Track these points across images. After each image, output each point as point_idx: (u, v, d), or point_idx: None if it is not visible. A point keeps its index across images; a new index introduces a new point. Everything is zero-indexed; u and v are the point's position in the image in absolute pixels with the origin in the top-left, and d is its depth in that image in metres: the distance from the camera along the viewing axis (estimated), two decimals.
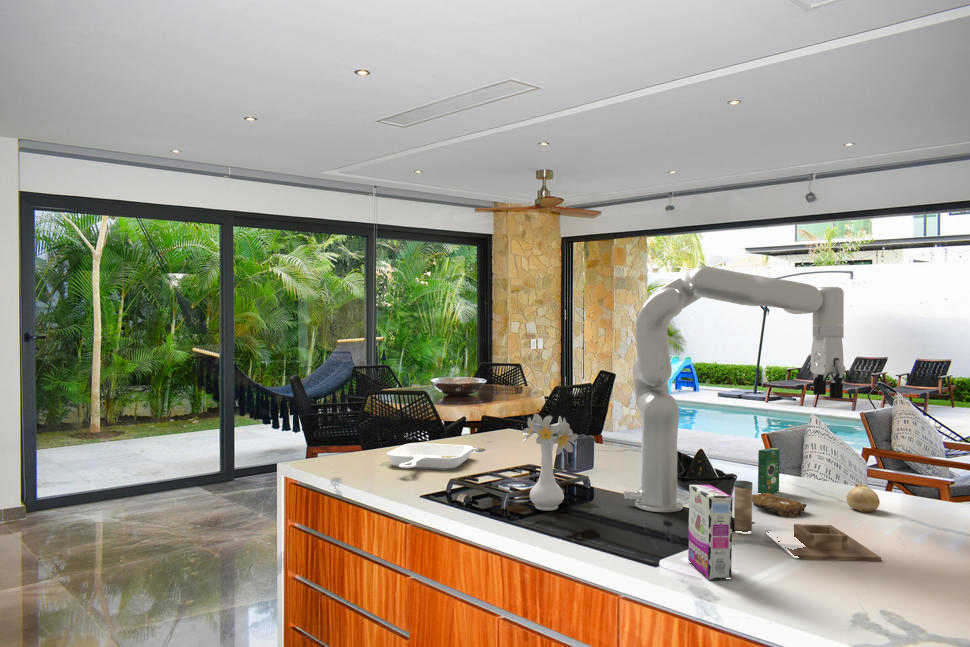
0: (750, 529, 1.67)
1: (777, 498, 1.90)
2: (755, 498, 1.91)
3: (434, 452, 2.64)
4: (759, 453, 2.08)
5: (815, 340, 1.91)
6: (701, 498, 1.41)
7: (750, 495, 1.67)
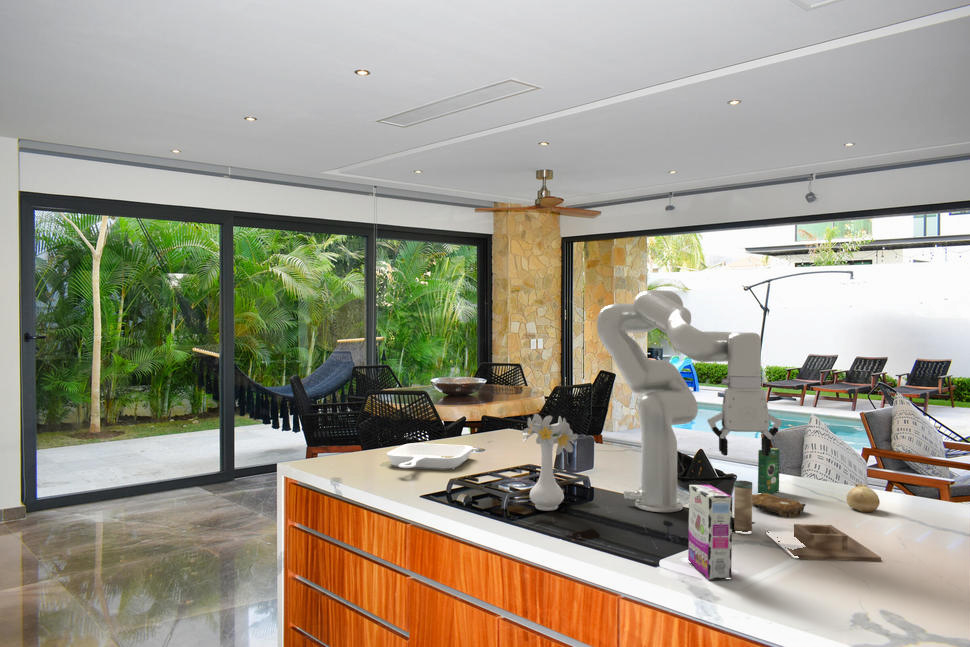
0: (750, 529, 1.67)
1: (776, 498, 1.90)
2: (754, 498, 1.91)
3: (433, 452, 2.64)
4: (759, 453, 2.08)
5: (741, 393, 1.66)
6: (700, 498, 1.41)
7: (750, 495, 1.67)
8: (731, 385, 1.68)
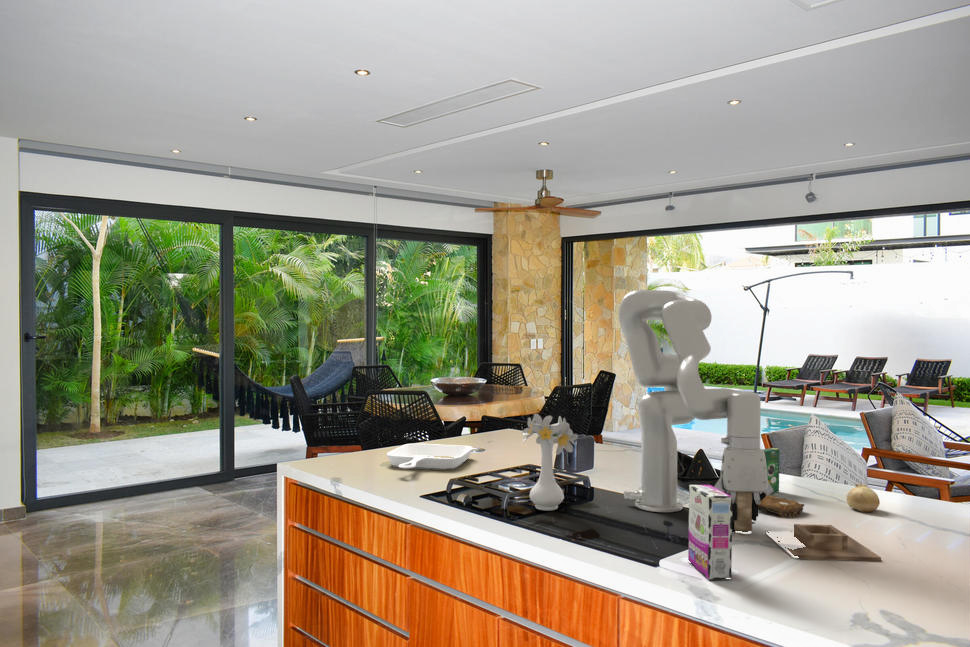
0: (750, 529, 1.67)
1: (775, 498, 1.90)
2: None
3: (433, 452, 2.64)
4: None
5: (740, 453, 1.67)
6: (700, 498, 1.41)
7: (750, 495, 1.67)
8: (730, 445, 1.68)
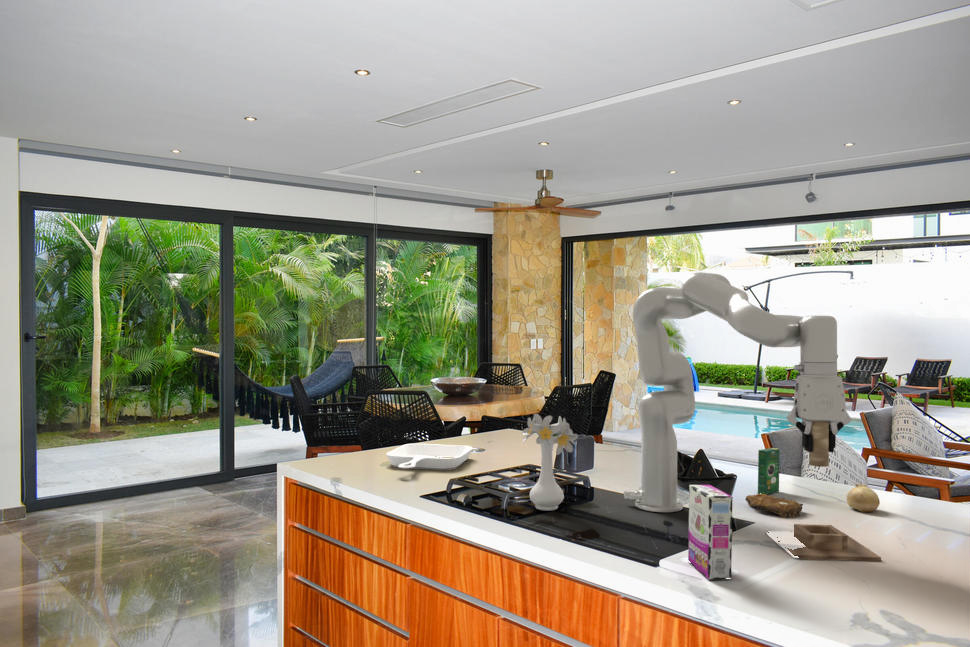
0: (827, 461, 1.57)
1: (774, 498, 1.89)
2: (752, 499, 1.90)
3: (433, 452, 2.64)
4: (759, 453, 2.08)
5: (816, 380, 1.56)
6: (700, 498, 1.41)
7: (827, 425, 1.57)
8: (805, 372, 1.57)
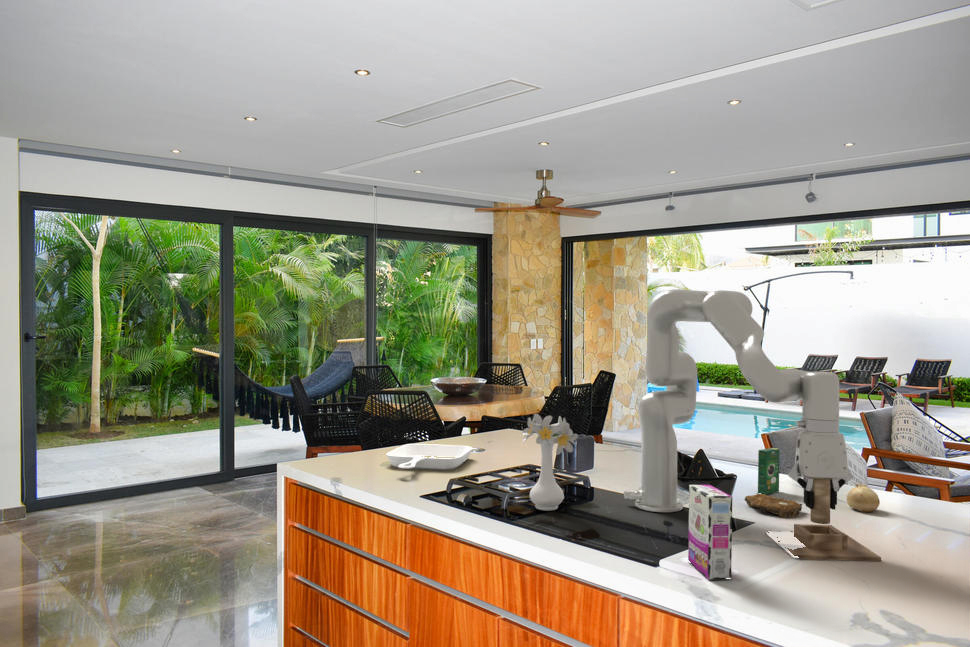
0: (829, 518, 1.56)
1: (773, 499, 1.89)
2: (752, 499, 1.90)
3: (433, 453, 2.64)
4: (759, 453, 2.08)
5: (818, 437, 1.56)
6: (700, 498, 1.41)
7: (829, 482, 1.56)
8: (807, 428, 1.57)
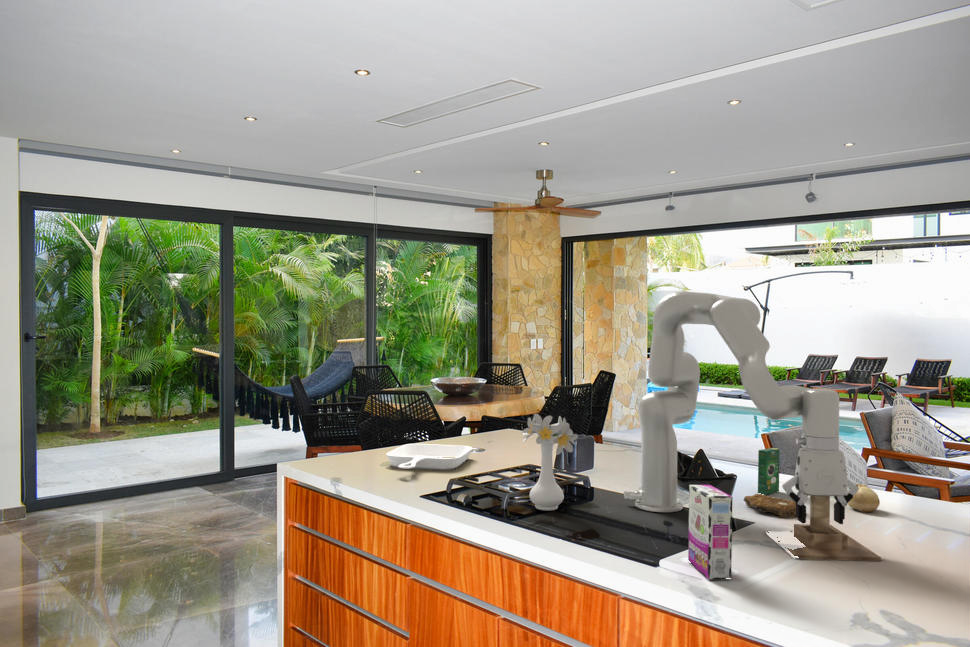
0: None
1: (773, 499, 1.89)
2: (751, 500, 1.90)
3: (433, 452, 2.64)
4: (759, 453, 2.08)
5: (818, 455, 1.56)
6: (700, 498, 1.41)
7: (828, 504, 1.57)
8: (807, 446, 1.57)
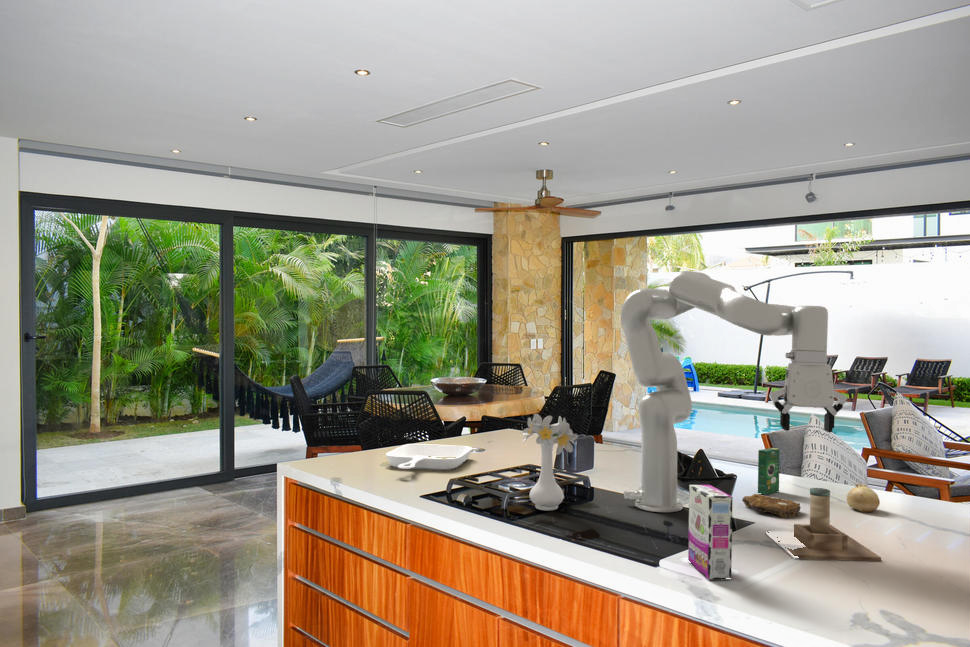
0: None
1: (772, 499, 1.89)
2: (751, 500, 1.89)
3: (433, 453, 2.63)
4: (759, 453, 2.08)
5: (806, 367, 1.63)
6: (700, 498, 1.41)
7: (828, 504, 1.57)
8: (796, 359, 1.64)
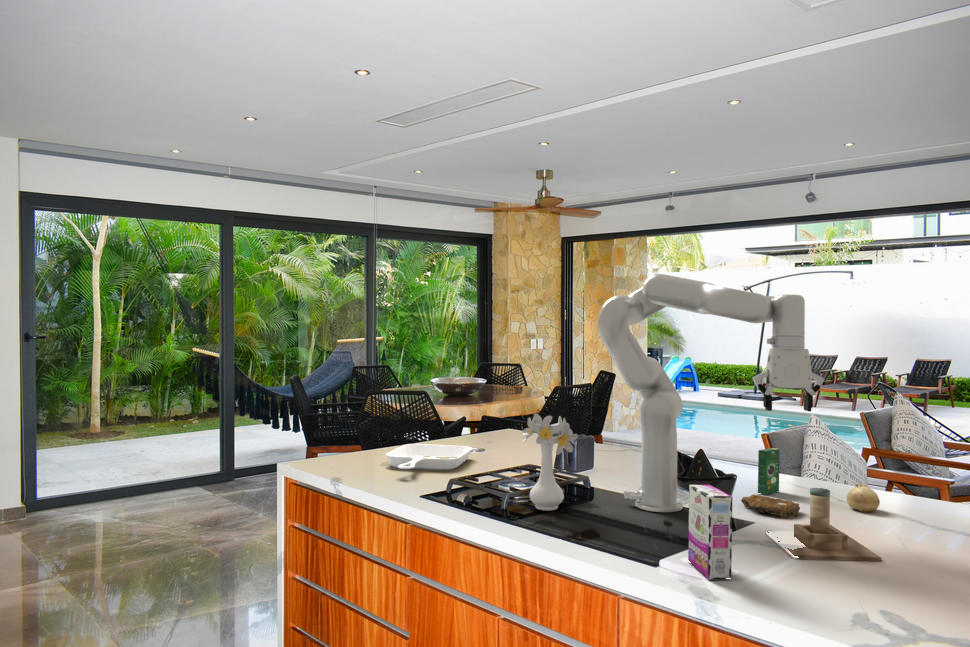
0: None
1: (771, 499, 1.89)
2: (750, 501, 1.89)
3: (432, 453, 2.63)
4: (759, 453, 2.08)
5: (786, 351, 1.76)
6: (700, 498, 1.41)
7: (828, 503, 1.57)
8: (776, 344, 1.77)
